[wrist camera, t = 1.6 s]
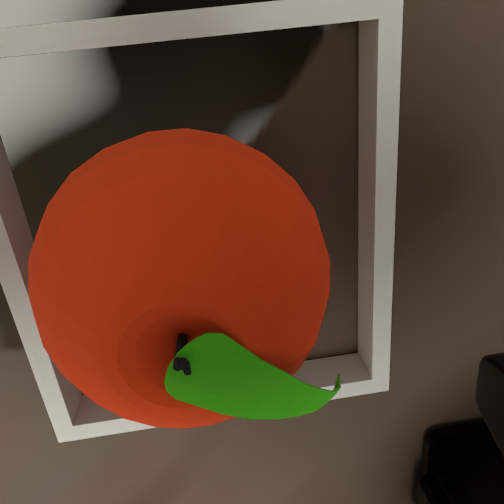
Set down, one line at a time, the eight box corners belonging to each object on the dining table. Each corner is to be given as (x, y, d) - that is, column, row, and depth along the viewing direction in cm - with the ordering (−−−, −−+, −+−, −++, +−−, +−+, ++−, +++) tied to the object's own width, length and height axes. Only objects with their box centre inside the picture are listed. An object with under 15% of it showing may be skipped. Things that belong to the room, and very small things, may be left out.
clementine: (366, 205, 15) (498, 331, 9) (247, 362, 17) (281, 560, 11) (139, 55, 12) (84, 74, 6) (30, 260, 14) (-99, 439, 8)
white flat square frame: (380, -7, 12) (403, -12, 11) (373, 363, 18) (388, 390, 16) (-57, 37, 12) (-90, 36, 10) (69, 410, 17) (58, 442, 16)
